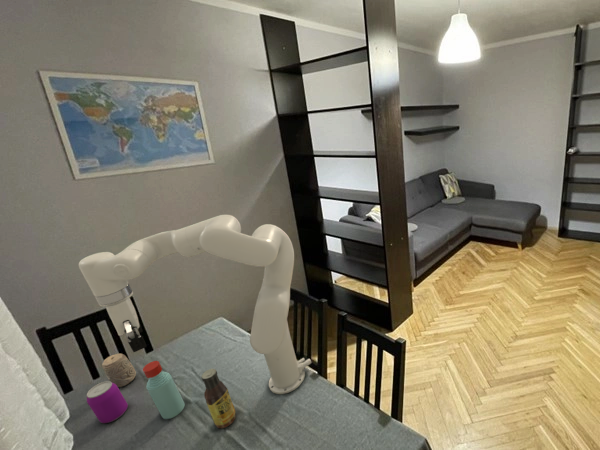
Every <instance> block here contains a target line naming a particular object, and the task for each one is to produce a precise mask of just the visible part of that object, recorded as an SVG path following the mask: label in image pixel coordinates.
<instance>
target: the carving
mask: <svg viewBox="0 0 600 450" xmlns="http://www.w3.org/2000/svg"><path fill="white" fill-rule="evenodd" d="M101 367H102V369H103V371H104V374H105V376H106V378H107V379H108V380H107V381H110V382H112V383H114V384H116V385H117V387H118V388H123V387H125V386H127V385H129V384H130V383H132V381H133V380H134V379H135V378H136V375H137V371H136V369H135V367H134V366H133V363H131V361H130V359H129V358H128V357H127V356H126V355H125V354H123V353H122V352H121V353H115V354H112V355H109V356H107V357H106V358H105V359H104V360H103V362H102V364H101Z"/></svg>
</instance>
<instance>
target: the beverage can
mask: <svg viewBox="0 0 600 450" xmlns="http://www.w3.org/2000/svg"><path fill="white" fill-rule="evenodd" d="M86 403H87V405H88V406H89V408H90V409H91V410H92V412H93V414H94V416H95V417H96V418H97V420H98V422H100V423H101V424H108V423H112V422H115V421H116V420H118V419H120V418H121V417H122V416H123V415H124V414H125V412H126V411H127V410H128V407H129V404H128V402H127V400H126V399H125V397H124V396H123V394H122V392H121V390H120V387H117V385H116V384H114V383H112V382H110V381H109V380H105V381H101V382H100V383H98V384H95V385H93V386H92V387H91V388H90V389H89V390H88V391H87V393H86Z"/></svg>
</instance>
